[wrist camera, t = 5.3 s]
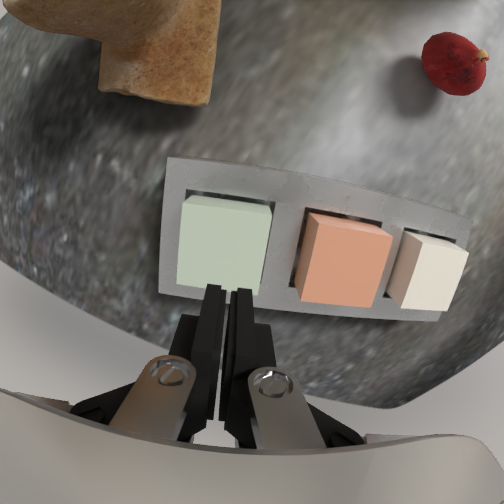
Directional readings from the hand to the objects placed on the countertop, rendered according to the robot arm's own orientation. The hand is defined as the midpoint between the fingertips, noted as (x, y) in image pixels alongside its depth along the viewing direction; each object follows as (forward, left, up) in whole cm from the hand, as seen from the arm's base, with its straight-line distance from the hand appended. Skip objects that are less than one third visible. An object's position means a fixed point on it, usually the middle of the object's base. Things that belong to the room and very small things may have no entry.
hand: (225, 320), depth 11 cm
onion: (-15, -18, -14) cm, 28 cm away
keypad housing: (-7, 0, -14) cm, 16 cm away
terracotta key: (-7, 0, -10) cm, 12 cm away
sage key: (+1, 0, -10) cm, 10 cm away
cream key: (-15, 0, -10) cm, 18 cm away
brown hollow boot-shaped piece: (+10, -16, -14) cm, 24 cm away
